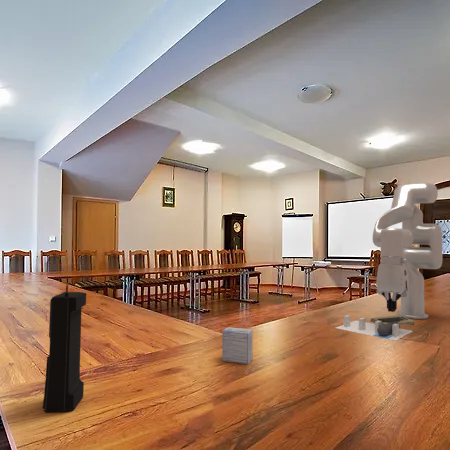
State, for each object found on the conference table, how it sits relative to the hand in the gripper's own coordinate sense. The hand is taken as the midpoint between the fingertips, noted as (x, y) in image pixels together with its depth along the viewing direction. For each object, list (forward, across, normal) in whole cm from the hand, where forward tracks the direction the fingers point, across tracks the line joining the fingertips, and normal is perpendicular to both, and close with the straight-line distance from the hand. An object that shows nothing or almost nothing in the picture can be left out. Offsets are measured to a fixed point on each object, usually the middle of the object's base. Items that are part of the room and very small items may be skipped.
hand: (391, 311), depth 128 cm
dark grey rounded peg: (+7, 0, +2) cm, 8 cm away
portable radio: (+10, +27, +106) cm, 110 cm away
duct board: (+9, +6, +2) cm, 11 cm away
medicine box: (+10, +20, +62) cm, 66 cm away
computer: (+9, +6, -16) cm, 19 cm away
